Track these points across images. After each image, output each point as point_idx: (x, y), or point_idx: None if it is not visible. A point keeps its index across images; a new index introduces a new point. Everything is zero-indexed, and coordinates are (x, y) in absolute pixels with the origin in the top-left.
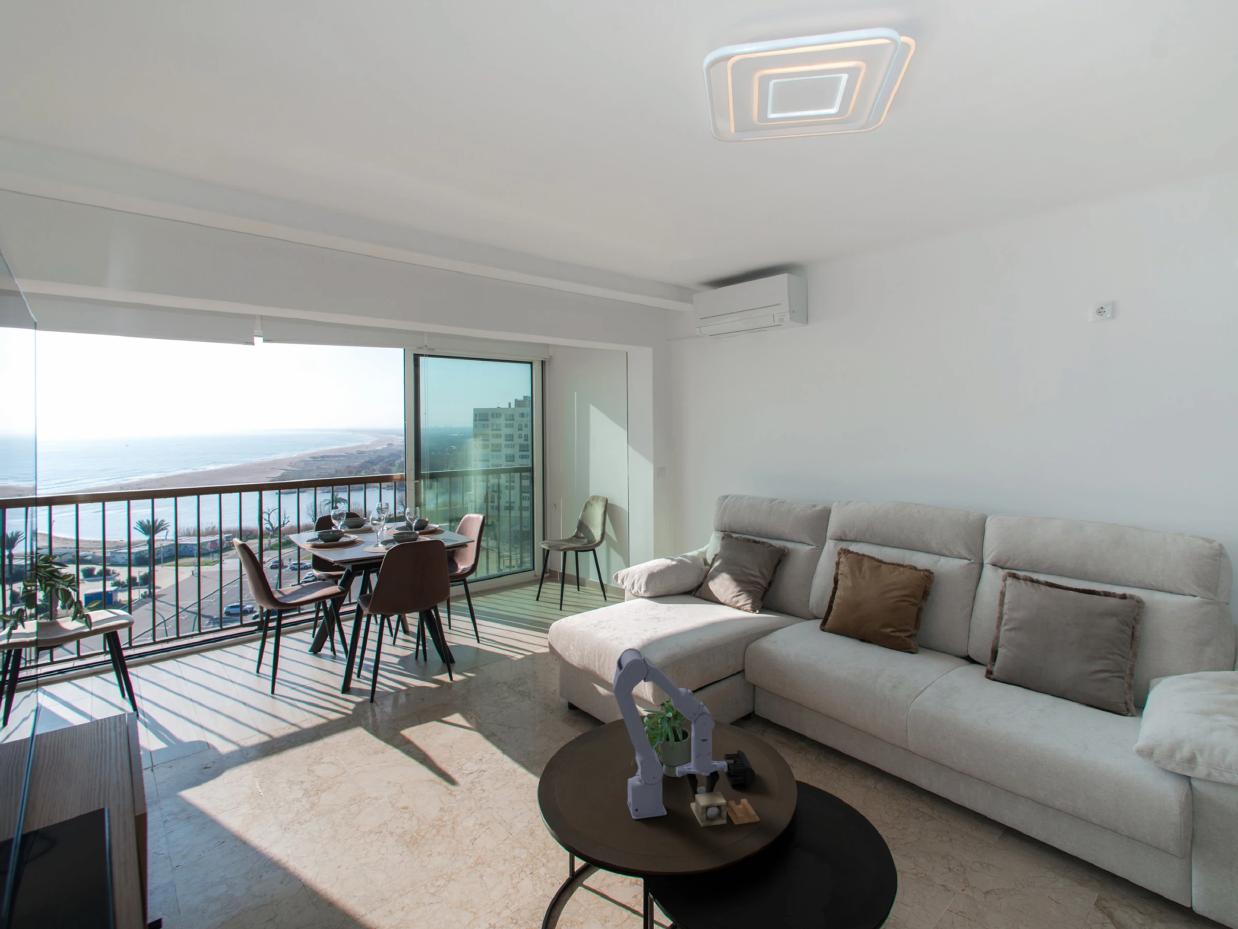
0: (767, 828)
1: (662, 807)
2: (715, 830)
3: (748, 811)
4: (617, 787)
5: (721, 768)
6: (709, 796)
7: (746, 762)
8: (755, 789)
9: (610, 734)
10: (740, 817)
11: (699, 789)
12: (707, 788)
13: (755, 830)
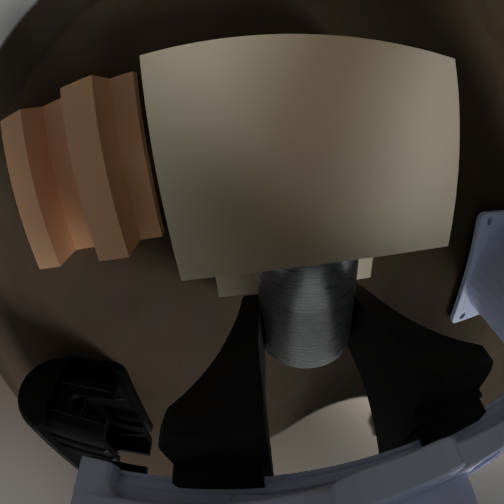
0: (3, 74)
1: (477, 258)
2: (281, 27)
3: (28, 147)
4: (492, 354)
5: (127, 502)
6: (335, 190)
7: (48, 444)
8: (42, 345)
9: None
10: (82, 80)
11: (337, 343)
12: (263, 359)
13: (49, 43)
